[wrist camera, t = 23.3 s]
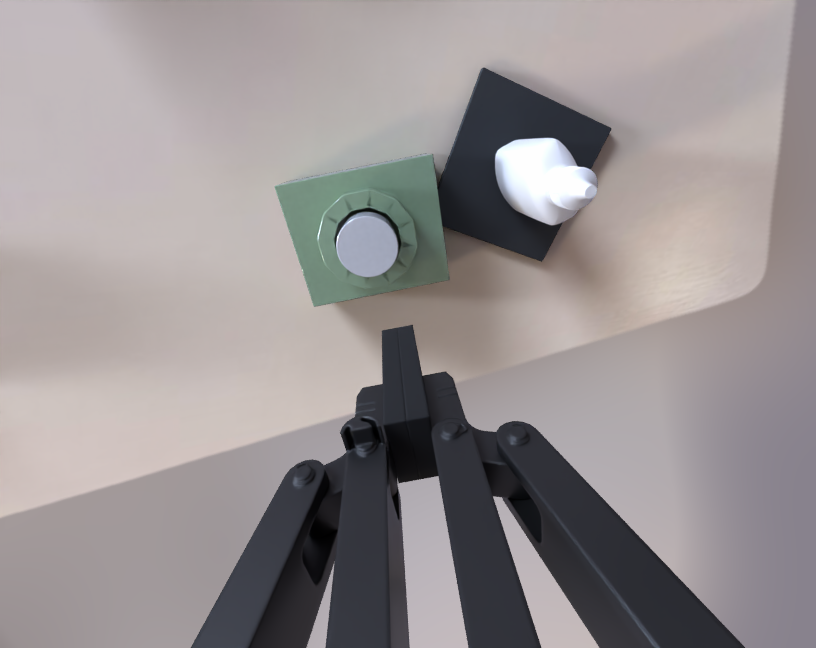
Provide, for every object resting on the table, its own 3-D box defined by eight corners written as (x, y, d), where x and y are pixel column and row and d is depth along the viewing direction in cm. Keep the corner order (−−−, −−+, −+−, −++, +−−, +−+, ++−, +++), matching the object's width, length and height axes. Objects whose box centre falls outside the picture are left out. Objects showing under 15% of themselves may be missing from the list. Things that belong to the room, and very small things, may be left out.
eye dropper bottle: (547, 141, 30) (643, 137, 19) (534, 211, 32) (613, 242, 22) (496, 138, 29) (565, 133, 19) (487, 209, 32) (542, 241, 21)
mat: (608, 128, 30) (612, 128, 30) (539, 260, 35) (542, 261, 34) (481, 68, 28) (483, 67, 27) (425, 219, 32) (426, 220, 32)
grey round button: (390, 206, 26) (391, 210, 24) (401, 263, 28) (403, 271, 26) (332, 217, 26) (328, 223, 25) (347, 273, 28) (345, 282, 27)
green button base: (426, 153, 30) (436, 154, 25) (442, 266, 34) (454, 288, 29) (286, 181, 30) (266, 188, 25) (320, 290, 35) (309, 316, 29)
